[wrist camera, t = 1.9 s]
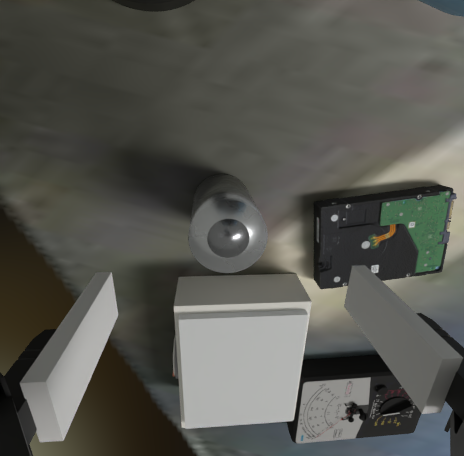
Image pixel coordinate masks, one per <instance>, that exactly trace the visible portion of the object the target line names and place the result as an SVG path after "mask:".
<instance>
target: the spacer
mask: <svg viewBox="0 0 464 456" xmlns="http://www.w3.org/2000/svg"><path fill="white" fill-rule="evenodd" d="M267 238H268V233H267V227H266V224H265V222H264V220H263V218H262V216H261V214H260V212H259V210H258V208H257V207H256V205H255V203H254V201H253V199H252V197H251V195H250V193H249V192H248V190H247V188H246V186H245V185H244V184H243V183H242V182H241V181H240V180H239V179H237V178H236V177H234V176H231V175H227V174H218V175H213V176H211V177H209V178H207V179H205V180H204V181H203V182H202V183H201V184H200V185H199V186H198V188H197V190H196V192H195V195H194V201H193V208H192V214H191V221H190V228H189V237H188V240H189V246H190V249H191V252H192V254H193V255H194V257H195V258H196V260H197V261H198V262H199V263H200V264H202V265H203V266H204V267H206V268H208V269H210V270H212V271H215V272H220V273H234V272H238V271H241V270H244V269H246V268H248V267H250V266H251V265H252V264H254V263H255V262H256V261H257V260H258V259H259V258H260V256H261V255H262V253H263V252H264V250H265V247H266V244H267Z"/></svg>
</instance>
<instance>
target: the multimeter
mask: <svg viewBox="0 0 464 456" xmlns="http://www.w3.org/2000/svg"><path fill="white" fill-rule="evenodd" d="M420 415H421V412H420V410H419V409H418V408H417V406H416V405H415V403H414V402H413V401H412V399H411V398H410V397H409V395H408V394H407V392H406V391H405V390H404V388H403V387H402V385H401V384H400V383H399V381H398V380H397V379H396V377H395V376H394V374H393V373H392V372H391V370H390V369H389V368H388V366H387V365H386V363H385V362H384V361H383V359H382V358H381V356H380V355H367V356H352V357H337V358H322V359H307V360H303V362H302V369H301V375H300V382H299V389H298V395H297V402H296V409H295V416H294V420H293V421H287V424H288V429H289V433H290V436H291V439H292V441H293V442H295V443H308V442H319V441H331V440H342V439H353V438H363V437H375V436H386V435H397V434H408V433H413V432H414V431H415V428H416V426H417V423H418V420H419V418H420Z"/></svg>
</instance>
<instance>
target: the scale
mask: <svg viewBox="0 0 464 456" xmlns="http://www.w3.org/2000/svg"><path fill="white" fill-rule="evenodd" d="M311 302H312V301H311V300H310V298H309V296H308V294H307V292H306V291H305V289H304V287H303V285H302V283H301V282H300V280H299V278H298V276H297V275H296V274H263V275H225V276H188V277H179V278H178V284H177V290H176V295H175V301H174V318H175V333H176V335H175V338H174V347H173V376H175V378H176V379H179V392H180V407H181V422H182V428H185V429H189V428H203V427H217V426H231V425H245V424H259V423H273V422H287V421H293V420H294V416H295V409H296V402H297V395H298V389H299V382H300V375H301V369H302V362H303V355H304V349H305V342H306V335H307V329H308V322H309V315H310V308H311Z"/></svg>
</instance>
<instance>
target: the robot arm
mask: <svg viewBox="0 0 464 456" xmlns="http://www.w3.org/2000/svg"><path fill="white" fill-rule="evenodd" d="M113 1H115V2H117V3H119V4H121V5H124V6H127V7H130V8H133V9H137V10H142V11H167V10H172V9H176V8H179V7H182V6H184V5H187V4H189V3H191V2H192V1H194V0H113ZM419 1H421V2H423V3H425V4H427V5H430V6H432V7H434V8H436V9H438V10H440V11H443V12H445V13H448V14H451V15H456V16H464V0H419ZM344 307H345V308H346V310H347V311H348V312H349V314H350V315H351V316H352V318H353V319H354V321H355V322H356V323H357V325H358V326H359V327H360V329H361V330H362V332H363V333H364V334H365V336H366V337H367V339H368V340H369V341H370V343H371V344H372V345H373V347H374V348H375V350H376V351H377V352H378V354H379V355H380V356H381V358H382V359H383V361H384V362H385V363H386V365H387V366H388V368H389V369H390V370H391V372H392V373H393V374H394V376H395V377H396V379H397V380H398V381H399V383H400V384H401V385H402V387H403V388H404V390H405V391H406V392H407V394H408V395H409V397H410V398H411V399H412V401H413V402H414V403H415V405H416V406H417V408H418V409H419V410H420V412H421V413H422V414H425V413H438V412H441V410H442V408H443V405H444V403H445V401H446V402H447V403H448V404H449V406H450V407H451V408H452V409H453V411H452V413H451V415H450V418H449V420H448V422H447V425H446V427H445V430H444V431H446V432H448V431H449V429H450V452H451V456H464V348H463V347H462V346H461V345H460V344H459V343H458V342H457V341H455V340H454V339H453V338H452V337H450V335H449V334H448V333H447V332H446V331H444V330H442V328H441V327H440V326H439V325H438V324H437V323H436V322H434V321H433V320H432V319H430V318H428V317H427V316H425V315H423V314H421V313H415V312H414V311H413V310H412V309H411V308H410V307H409V306H408V305H407V304H406V303H405V302H403V301H402V300H401V299H400V298H399V297H398V296H397V295H396V294H395V293H394V292H393V291H392V290H391V289H390V288H389V287H388V286H386V285H385V284H384V283H383V282H382V281H381V280H380V279H379V278H378V277H377V276H376V275H375V274H374V273H373V272H372V271H371V270H370V269H368V268H367V267H366V266H365V265H359V266H352V269H351V274H350V279H349V284H348V289H347V294H346V299H345V304H344ZM117 317H118V310H117V304H116V297H115V291H114V284H113V278H112V272H96V274H95V275H94V277H93V278H92V279H91V281H90V282H89V284H88V285H87V287H86V288H85V289H84V291H83V292H82V294H81V295H80V297H79V298H78V300H77V301H76V302H75V304H74V305H73V307H72V308H71V310H70V311H69V313H68V314H67V315H66V317H65V318H64V320H63V321H62V323H61V324H60V326H59V327H58V328H57V329H51V330H44V331H43V332H42V333H40V334H39V335H38V336H36V337H35V338H34V339H33V340H32V341H31V342H30V344H29V345H28V346H27V347H26V349H25V351H23V353H22V354H21V355H20V357H19V359H18V360H17V361H16V362H15V363H14V364H13V366H12V367H11V368H10V370H9V371H8V372H7V373H6V375H5V376H3V375H2V374H1V373H0V456H33V454H32V451H31V448H30V445H29V444H30V442H31V440H32V438H33V436H34V434H35V432H37V435H38V438H39V441H40V442H48V441H49V442H50V441H63V440H64V437H65V436H66V433H67V431H68V429H69V427H70V424H71V422H72V420H73V418H74V415H75V413H76V411H77V408H78V406H79V404H80V401H81V399H82V397H83V395H84V392H85V390H86V388H87V386H88V383H89V381H90V379H91V376H92V374H93V372H94V369H95V367H96V365H97V363H98V360H99V358H100V355H101V353H102V351H103V349H104V347H105V344H106V342H107V340H108V337H109V335H110V333H111V330H112V328H113V326H114V324H115V321H116V319H117Z"/></svg>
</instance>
